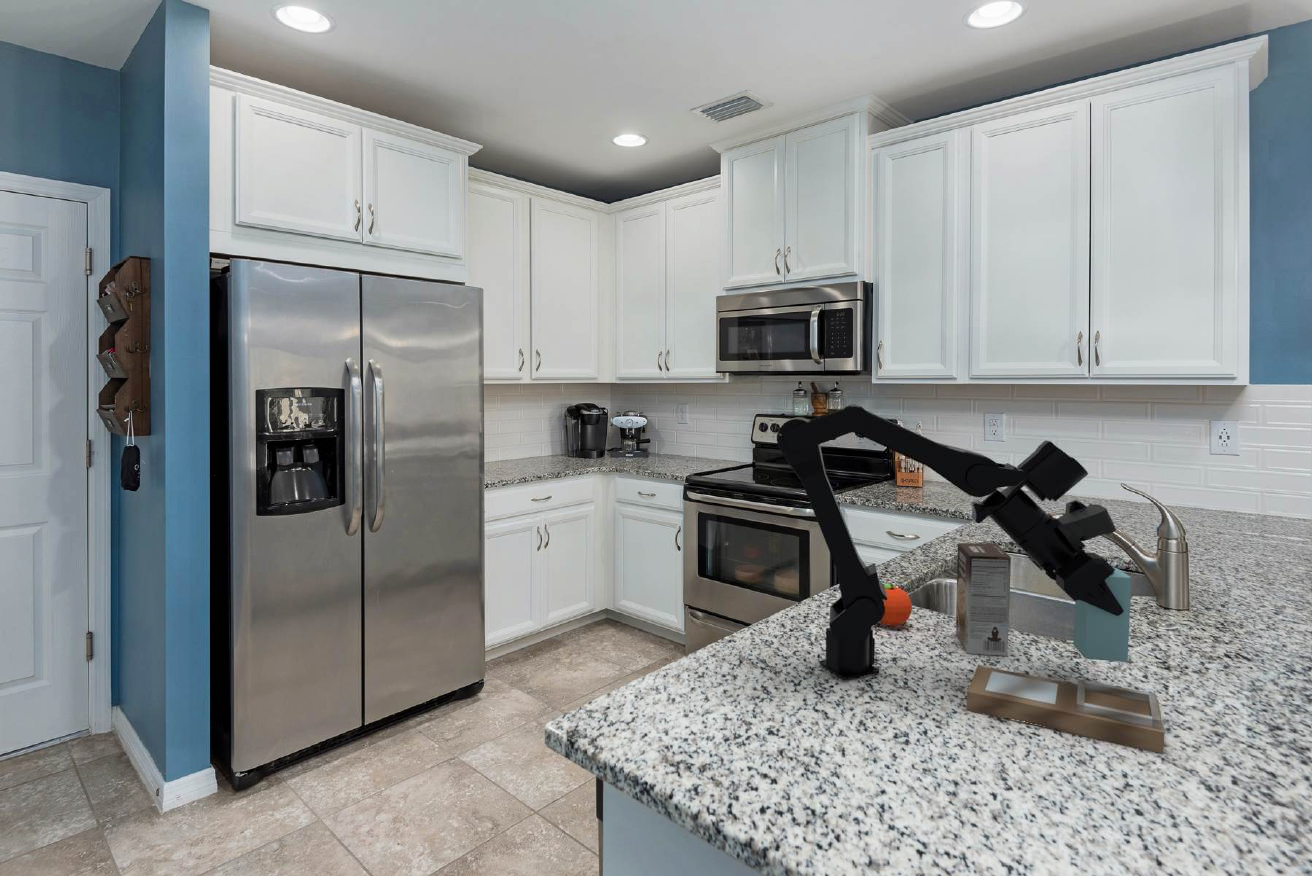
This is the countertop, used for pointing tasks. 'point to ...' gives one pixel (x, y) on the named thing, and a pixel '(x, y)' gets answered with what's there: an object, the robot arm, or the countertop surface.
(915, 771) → the countertop surface
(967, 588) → the coffee box
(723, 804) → the countertop surface
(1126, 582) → the teal pillar
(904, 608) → the clementine
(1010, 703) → the walnut base plate
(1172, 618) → the countertop surface
